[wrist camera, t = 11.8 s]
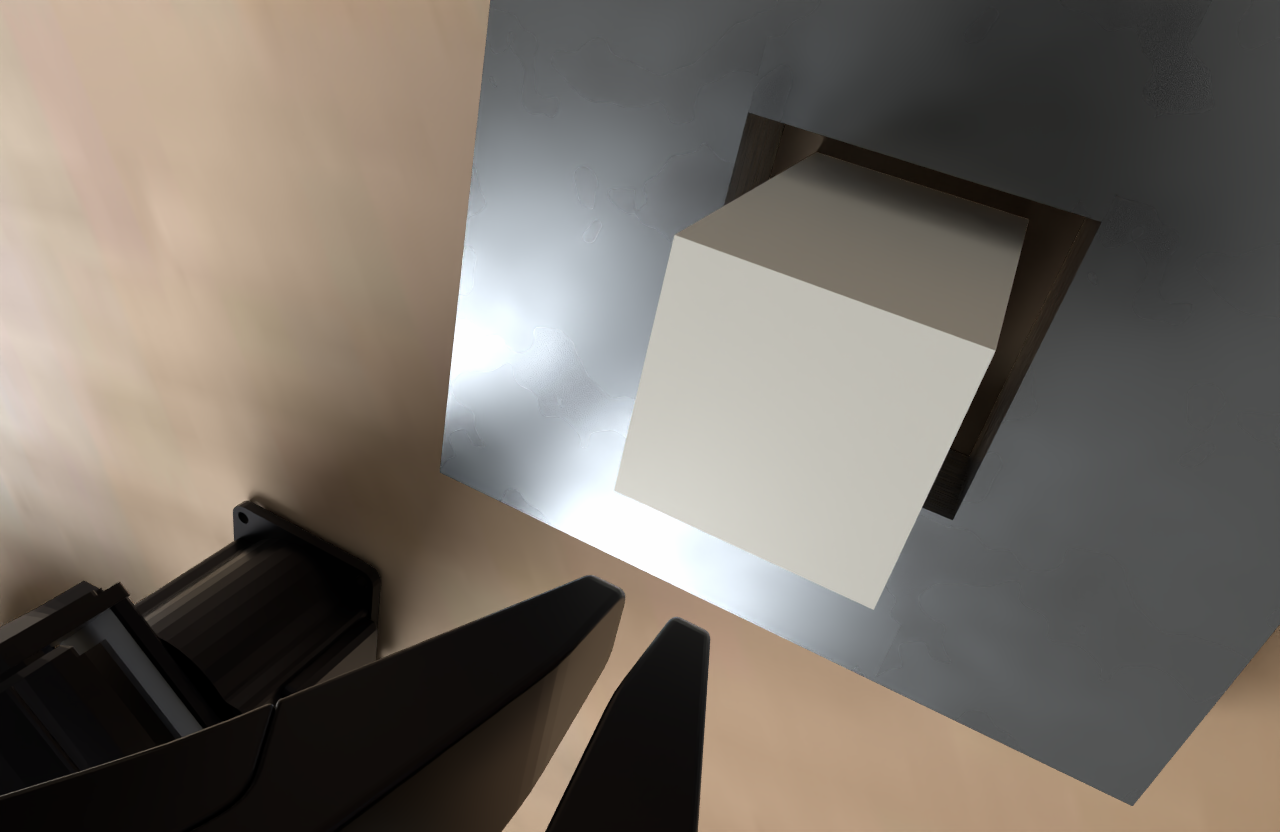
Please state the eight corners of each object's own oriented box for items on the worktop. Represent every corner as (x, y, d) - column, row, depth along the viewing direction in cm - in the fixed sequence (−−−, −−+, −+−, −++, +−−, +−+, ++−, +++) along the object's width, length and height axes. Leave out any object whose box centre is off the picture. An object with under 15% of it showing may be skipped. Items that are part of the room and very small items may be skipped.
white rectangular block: (758, 338, 21) (613, 490, 15) (816, 151, 19) (674, 235, 12) (942, 409, 20) (873, 610, 13) (1029, 219, 18) (995, 350, 11)
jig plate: (500, 427, 26) (439, 472, 23) (596, -223, 18) (518, -259, 15) (1126, 711, 21) (1132, 805, 19) (1653, -4, 13) (1786, -4, 10)
